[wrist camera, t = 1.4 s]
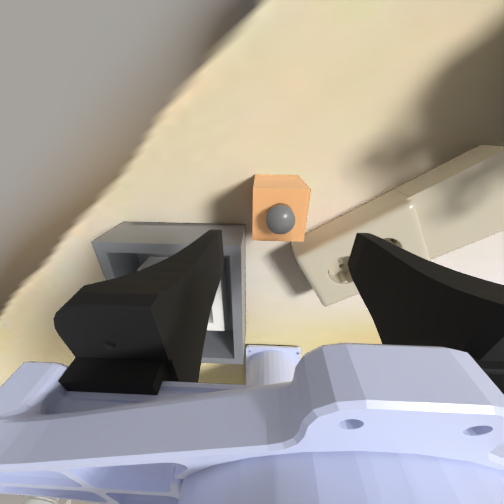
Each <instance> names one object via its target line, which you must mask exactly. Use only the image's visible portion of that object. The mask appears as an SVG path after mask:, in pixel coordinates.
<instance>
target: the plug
mask: <svg viewBox="0 0 504 504" xmlns="http://www.w3.org/2000/svg"><path fill="white" fill-rule="evenodd" d="M310 192H311V189H310V188H309V187H308V186H307V184H306V183H305V182H304V181H303V180H302V179H301V178H300V177H299V175H261V174H255V179H254V185H253V232H252V240H259V241H298V242H304V236H305V229H306V222H307V214H308V207H309V200H310Z"/></svg>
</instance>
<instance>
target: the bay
mask: <svg viewBox="0 0 504 504" xmlns="http://www.w3.org/2000/svg"><path fill="white" fill-rule="evenodd" d="M210 229H216V230H222V240H223V253H224V265H223V271H222V276H221V280H220V283H219V286H218V289H217V292H216V295H215V299H214V302H213V305H212V308H211V312H210V316H209V321H208V326H207V331H206V337H205V342H204V348H203V354H202V360H201V363H219V364H242V365H243V360H244V348H245V336H246V281H245V224H208V223H165V222H122V223H121V224H119V225H117V226H116V227H114V228H113V229H111V230H110V231H108V232H106V233H105V234H103V235H102V236H100V237H98V238H97V239H95V240H94V241H92V242H91V243H92V245H93V248H94V250H95V253H96V256H97V258H98V261H99V263H100V266H101V269H102V271H103V274H104V276H105V279H106V280H110V279H114V278H117V277H121V276H124V275H127V274H130V273H133V272H136V271H139V270H142V269H144V268H146V267H149V266H151V265H154V264H156V263H158V262H160V261H162V260H164V259H166V258H168V257H170V256H172V255H174V254H176V253H177V252H179V251H180V250H182V249H183V248H185V247H187V246H188V245H190V244H191V243H192V242H194V241H195V240H196V239H198V238H199V237H201V236H202V235H203V234H204V233H206V232H207V231H209V230H210Z"/></svg>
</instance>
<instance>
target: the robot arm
mask: <svg viewBox="0 0 504 504" xmlns="http://www.w3.org/2000/svg"><path fill="white" fill-rule="evenodd" d="M223 265H224V253H223V240H222V230H216V229H210V230H209V231H207V232H206V233H204V234H203V235H202V236H201V237H199V238H198V239H196V240H195V241H194V242H192V243H191V244H190V245H188V246H187V247H185V248H183V249H182V250H180V251H179V252H177V253H176V254H174V255H172V256H170V257H168V258H166V259H164V260H162V261H160V262H158V263H156V264H154V265H151V266H149V267H146V268H144V269H142V270H139V271H136V272H133V273H130V274H127V275H124V276H121V277H117V278H114V279H110V280H106V281H102V282H98V283H94V284H89V285H85V286H83V287H82V288H81V289H80V290H79V291H78V292H77V293H76V294H75V295H74V296H73V297H72V298H71V299H70V300H69V301H68V302H67V303H66V304H65V305H64V306H63V307H62V308H61V309H60V310H59V311H57V312H56V314H55V317H54V325H55V329H56V331H57V332H58V334H59V336H60V337H61V338H62V340H63V341H64V342H65V344H66V345H67V346H68V348H69V349H70V350H71V351H72V353H73V354H74V355H75V357H76V358H75V359H74V361H73V362H72V363H71V364H70V366H69V367H68V366H66V365H64V364H60V363H51V362H24V363H23V364H22V365H21V366H20V367H19V368H18V369H17V370H16V371H15V372H14V373H13V374H12V375H11V377H10V378H9V379H8V380H7V381H6V382H5V383H4V384H3V385H2V386H1V387H0V494H13V495H26V496H38V497H48V498H59V499H67V500H77V501H85V502H93V503H102V504H504V285H501V284H497V283H493V282H490V281H486V280H483V279H480V278H476V277H473V276H470V275H467V274H463V273H460V272H457V271H455V270H452V269H449V268H446V267H444V266H441V265H438V264H436V263H433V262H431V261H428V260H426V259H424V258H422V257H419V256H417V255H415V254H413V253H411V252H409V251H406V250H404V249H402V248H400V247H398V246H396V245H394V244H392V243H390V242H388V241H386V240H384V239H382V238H380V237H378V236H375V235H373V234H370V233H357V234H356V237H355V240H354V244H353V247H352V250H351V254H350V257H349V260H348V264H347V265H348V268H349V271H350V274H351V277H352V280H353V282H354V284H355V286H356V288H357V290H358V291H359V293H360V295H361V297H362V299H363V301H364V303H365V305H366V307H367V308H368V310H369V312H370V314H371V316H372V318H373V321H374V323H375V325H376V328H377V331H378V333H379V336H380V338H381V341H382V344H359V343H338V344H330V345H322V346H320V347H318V348H316V349H314V350H312V351H310V352H307V353H306V354H305V355H304V356H303V357H302V358H301V360H300V355H301V348H300V347H291V346H267V345H247V346H246V384H247V385H239V384H216V383H198V379H199V372H200V366H201V360H202V354H203V348H204V342H205V337H206V331H207V326H208V321H209V316H210V312H211V308H212V305H213V302H214V299H215V295H216V292H217V289H218V286H219V283H220V280H221V276H222V271H223Z"/></svg>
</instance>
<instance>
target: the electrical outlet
mask: <svg viewBox="0 0 504 504" xmlns="http://www.w3.org/2000/svg"><path fill="white" fill-rule="evenodd" d="M503 230H504V146H495V145H479V146H477V147H475V148H473V149H471V150H469V151H467V152H465V153H463V154H461V155H459V156H457V157H455V158H453V159H451V160H449V161H447V162H445V163H443V164H442V165H440V166H438V167H436V168H434V169H432V170H430V171H428V172H426V173H424V174H422V175H420V176H418V177H416V178H414V179H412V180H410V181H408V182H406V183H404V184H402V185H400V186H399V187H397V188H395V189H393V190H391V191H389V192H387V193H385V194H383V195H381V196H379V197H377V198H375V199H373V200H371V201H369V202H367V203H365V204H363V205H361V206H359V207H357V208H355V209H354V210H352V211H350V212H348V213H346V214H344V215H342V216H340V217H338V218H336V219H334V220H332V221H330V222H328V223H326V224H324V225H322V226H320V227H318V228H316V229H314V230H312V231H311V232H309V233H307V234H305V236H304V242H298V241H292V242H291V246H292V249H293V253H294V257H295V260H296V262H297V263H298V265H299V267H300V268H301V270H302V271H303V273H304V275H305V276H306V278H307V280H308V281H309V283H310V285H311V286H312V288H313V290H314V291H315V293H316V295H317V296H318V298H319V300H320V301H321V303H322V304H323V305H324V306H329V305H332V304H334V303H337V302H339V301H342V300H344V299H347V298H349V297H352V296H354V295H357V294H359V291H358V290H357V288H356V286H355V284H354V282H353V280H352V277H351V274H350V271H349V268H348V265H347V264H348V260H349V257H350V254H351V250H352V247H353V244H354V240H355V237H356V234H357V233H370V234H373V235H375V236H378V237H380V238H382V239H384V240H386V241H388V242H390V243H392V244H394V245H396V246H398V247H400V248H402V249H404V250H406V251H409V252H411V253H413V254H415V255H417V256H419V257H422V258H424V259H426V260H428V261H431V259H434V258H436V257H439V256H441V255H444V254H446V253H449V252H451V251H454V250H456V249H459V248H461V247H464V246H466V245H469V244H471V243H474V242H476V241H479V240H481V239H484V238H486V237H489V236H491V235H494V234H496V233H499V232H501V231H503Z"/></svg>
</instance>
